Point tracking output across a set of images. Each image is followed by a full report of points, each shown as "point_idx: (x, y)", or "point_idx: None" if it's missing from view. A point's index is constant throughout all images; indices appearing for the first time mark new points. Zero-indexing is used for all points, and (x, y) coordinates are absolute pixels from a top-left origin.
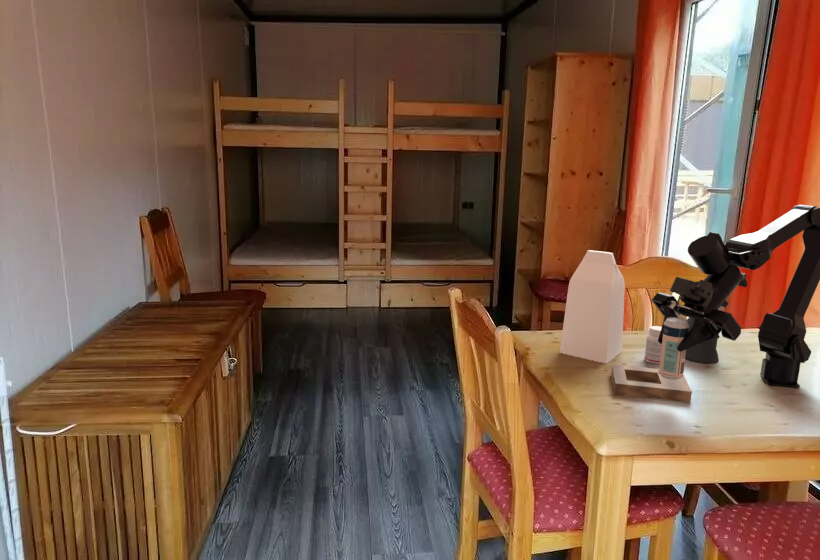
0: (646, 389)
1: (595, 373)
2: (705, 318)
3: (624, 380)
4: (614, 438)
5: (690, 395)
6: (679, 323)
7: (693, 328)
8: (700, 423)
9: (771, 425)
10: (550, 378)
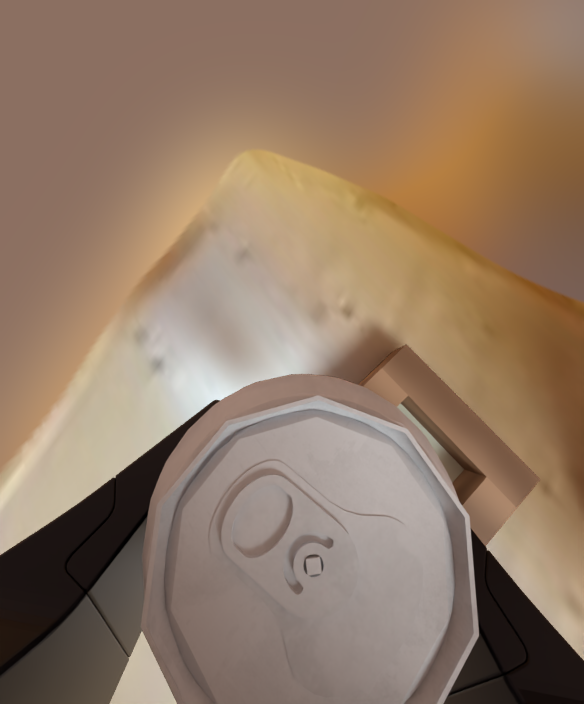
0: None
1: (534, 435)
2: None
3: (411, 388)
4: (232, 169)
5: None
6: (200, 451)
7: (63, 575)
8: (159, 388)
9: None
10: (547, 294)
